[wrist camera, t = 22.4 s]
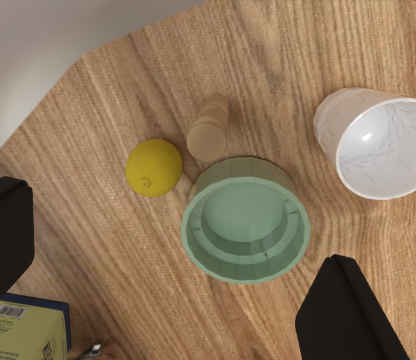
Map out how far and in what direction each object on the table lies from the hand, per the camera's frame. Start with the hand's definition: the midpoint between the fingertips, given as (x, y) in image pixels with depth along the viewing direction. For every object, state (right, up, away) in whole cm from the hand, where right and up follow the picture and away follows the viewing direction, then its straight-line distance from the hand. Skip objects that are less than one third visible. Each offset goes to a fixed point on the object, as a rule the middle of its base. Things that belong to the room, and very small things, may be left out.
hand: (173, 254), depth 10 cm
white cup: (+15, +9, +22) cm, 28 cm away
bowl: (+5, -1, +27) cm, 27 cm away
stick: (+2, +10, +22) cm, 24 cm away
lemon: (-4, +5, +25) cm, 26 cm away
